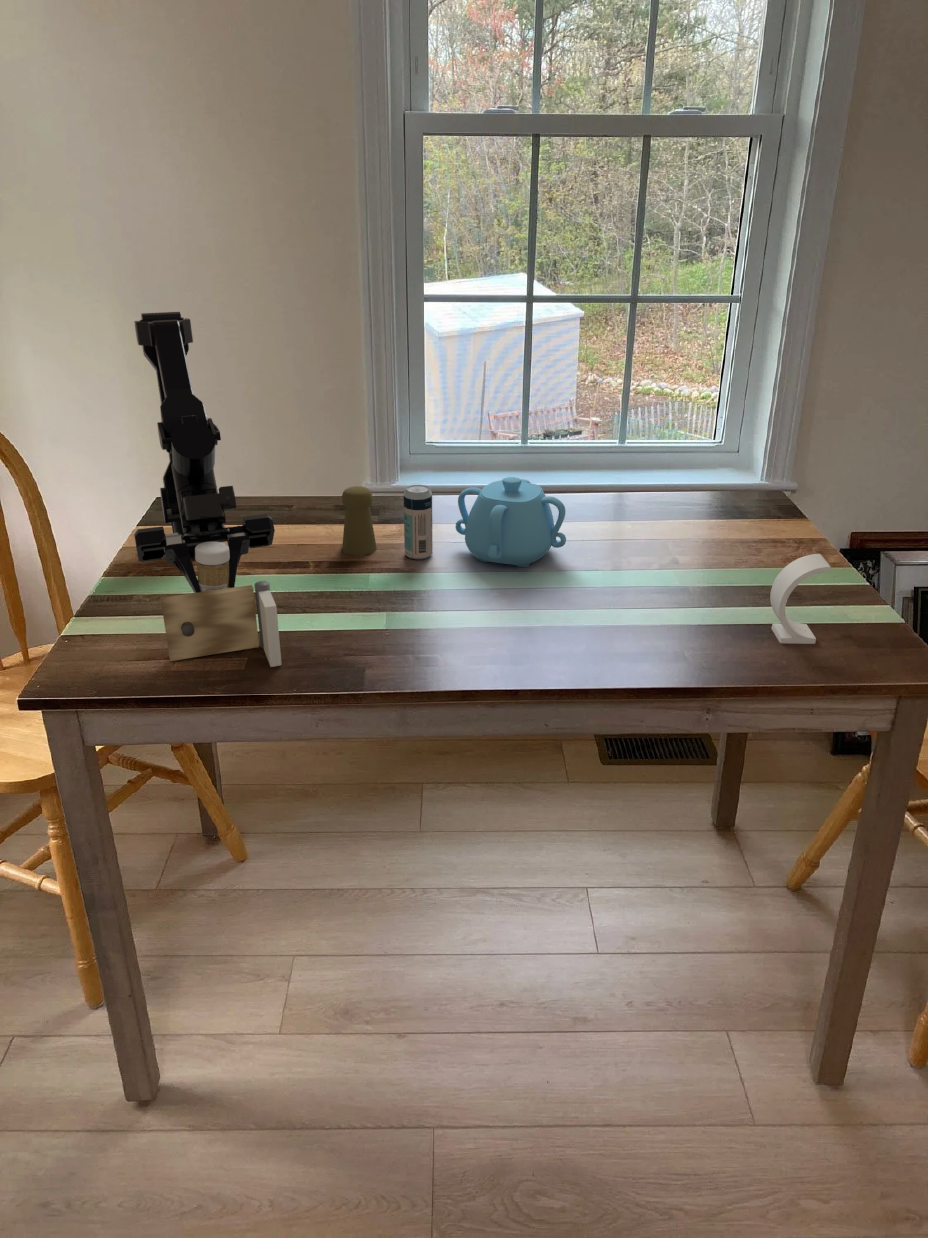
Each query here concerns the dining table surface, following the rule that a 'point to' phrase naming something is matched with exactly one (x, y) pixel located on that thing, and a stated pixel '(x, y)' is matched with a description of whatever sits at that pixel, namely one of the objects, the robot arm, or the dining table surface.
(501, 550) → the decorative pot
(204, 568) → the sprinkles bottle
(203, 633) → the door
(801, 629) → the headphone stand
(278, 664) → the door frame
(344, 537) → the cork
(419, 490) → the beer can
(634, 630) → the dining table surface
